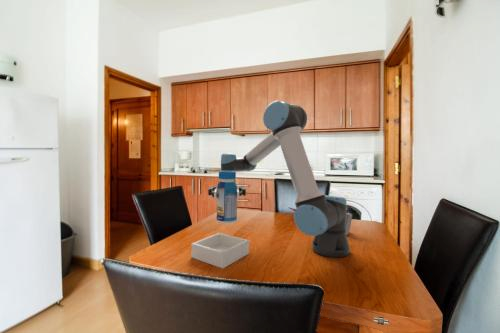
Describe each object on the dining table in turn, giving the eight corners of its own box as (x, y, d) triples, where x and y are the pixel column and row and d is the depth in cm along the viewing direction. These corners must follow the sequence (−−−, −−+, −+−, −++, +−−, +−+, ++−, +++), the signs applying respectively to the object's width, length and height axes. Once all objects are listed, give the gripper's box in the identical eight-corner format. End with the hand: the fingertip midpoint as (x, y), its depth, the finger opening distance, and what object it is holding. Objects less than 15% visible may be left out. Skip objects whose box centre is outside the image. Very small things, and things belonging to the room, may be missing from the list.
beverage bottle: (234, 224, 95) (235, 172, 94) (213, 222, 96) (213, 171, 95) (239, 218, 103) (240, 170, 102) (219, 217, 105) (220, 169, 103)
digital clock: (318, 228, 136) (319, 209, 135) (330, 226, 140) (330, 207, 139) (342, 237, 121) (343, 215, 121) (355, 234, 126) (355, 213, 125)
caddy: (248, 253, 100) (248, 240, 100) (222, 268, 87) (222, 253, 87) (219, 245, 110) (219, 232, 109) (191, 257, 96) (191, 243, 96)
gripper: (249, 195, 118) (253, 205, 95) (205, 194, 116) (198, 205, 94) (249, 179, 117) (254, 185, 95) (205, 179, 116) (198, 185, 93)
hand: (226, 195), depth 94 cm, fingers closed on beverage bottle, 8 cm apart
